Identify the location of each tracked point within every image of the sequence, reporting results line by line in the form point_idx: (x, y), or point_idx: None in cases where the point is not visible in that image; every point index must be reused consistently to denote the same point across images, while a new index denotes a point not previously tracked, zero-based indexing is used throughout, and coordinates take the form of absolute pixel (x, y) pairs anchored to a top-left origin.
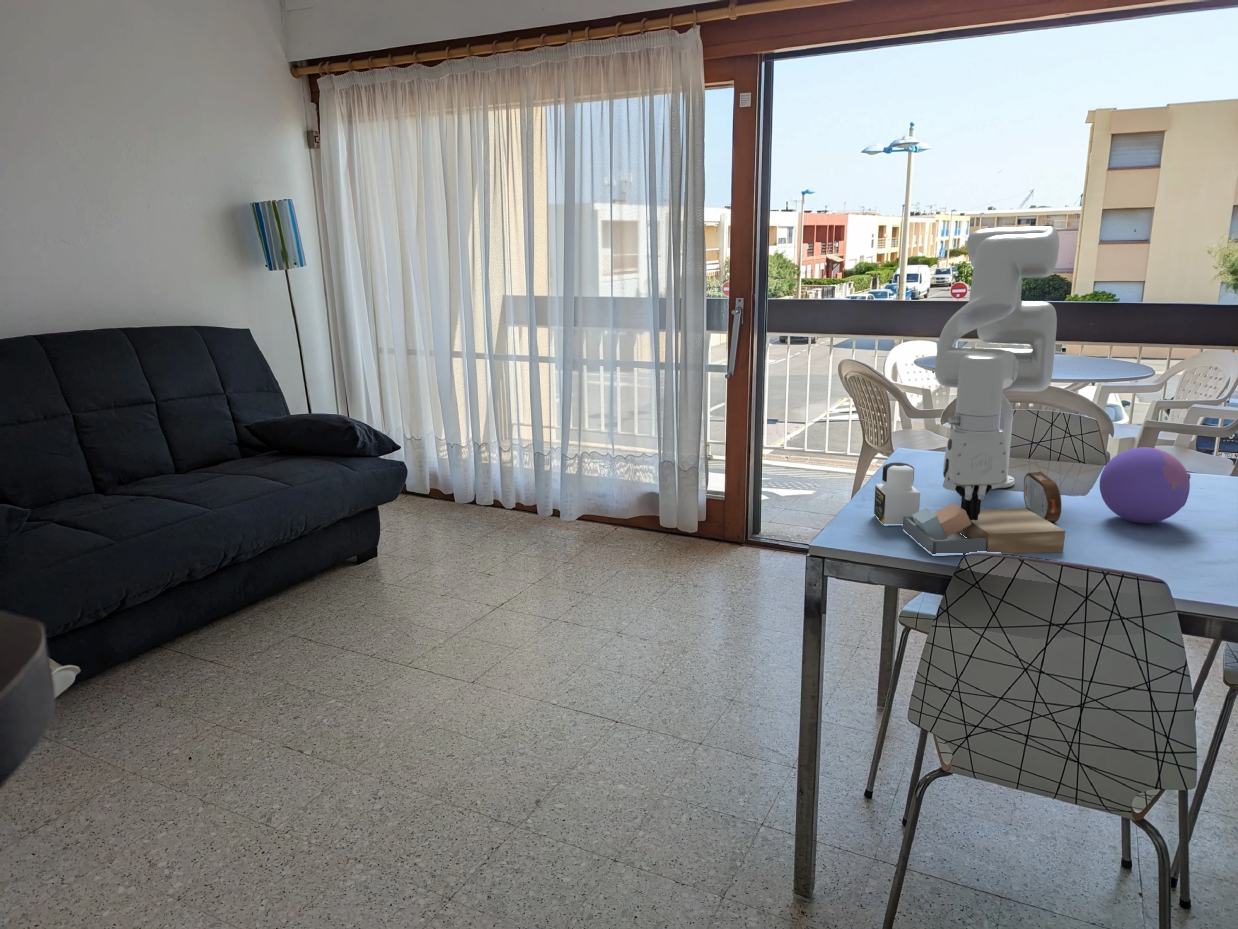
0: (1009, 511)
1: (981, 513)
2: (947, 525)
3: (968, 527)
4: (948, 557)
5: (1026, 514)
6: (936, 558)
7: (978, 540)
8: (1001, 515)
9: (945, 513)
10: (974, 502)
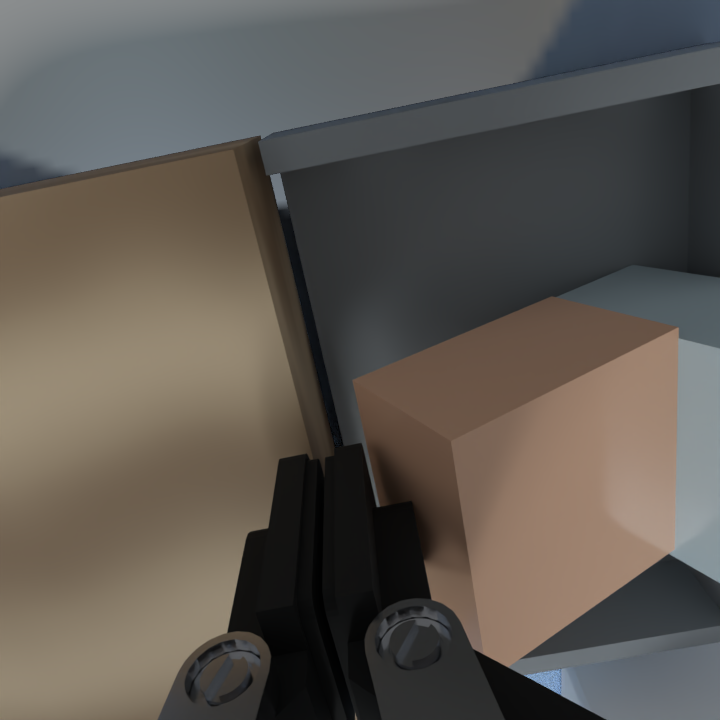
0: None
1: None
2: (596, 332)
3: None
4: (579, 48)
5: None
6: (684, 13)
7: (338, 124)
8: (43, 655)
9: (594, 507)
10: (316, 596)
